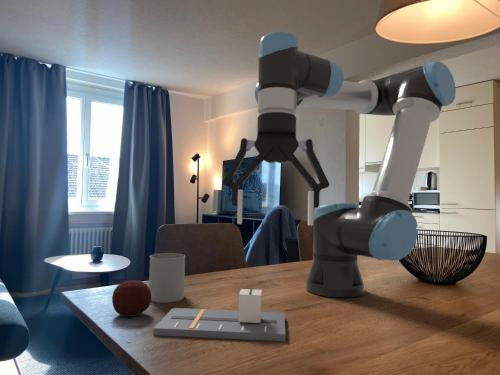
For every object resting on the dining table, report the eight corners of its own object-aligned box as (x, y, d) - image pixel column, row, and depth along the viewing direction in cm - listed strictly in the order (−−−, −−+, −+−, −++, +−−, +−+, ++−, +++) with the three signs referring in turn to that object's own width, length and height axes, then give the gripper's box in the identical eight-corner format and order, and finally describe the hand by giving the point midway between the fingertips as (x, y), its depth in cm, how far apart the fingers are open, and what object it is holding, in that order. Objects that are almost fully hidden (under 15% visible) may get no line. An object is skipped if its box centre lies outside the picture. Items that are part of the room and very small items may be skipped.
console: (284, 318, 75) (284, 312, 75) (285, 341, 63) (285, 333, 63) (172, 313, 76) (173, 307, 76) (153, 335, 64) (153, 327, 64)
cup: (175, 303, 84) (176, 259, 84) (142, 300, 85) (143, 257, 86) (189, 294, 92) (189, 254, 92) (158, 292, 93) (159, 252, 94)
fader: (261, 315, 71) (261, 288, 71) (260, 322, 67) (260, 294, 67) (240, 315, 71) (241, 288, 71) (238, 321, 67) (239, 293, 67)
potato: (117, 309, 78) (118, 276, 78) (154, 309, 79) (155, 276, 79) (106, 321, 71) (107, 284, 71) (147, 321, 71) (148, 284, 72)
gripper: (337, 119, 75) (336, 224, 74) (215, 118, 76) (213, 221, 75) (345, 110, 67) (344, 227, 66) (210, 109, 68) (207, 224, 68)
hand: (274, 224), depth 71 cm, fingers open, 13 cm apart
